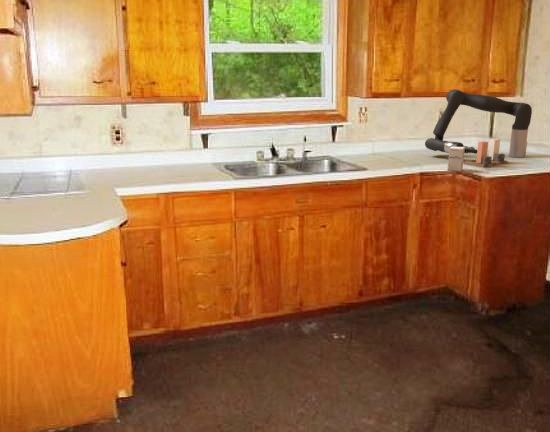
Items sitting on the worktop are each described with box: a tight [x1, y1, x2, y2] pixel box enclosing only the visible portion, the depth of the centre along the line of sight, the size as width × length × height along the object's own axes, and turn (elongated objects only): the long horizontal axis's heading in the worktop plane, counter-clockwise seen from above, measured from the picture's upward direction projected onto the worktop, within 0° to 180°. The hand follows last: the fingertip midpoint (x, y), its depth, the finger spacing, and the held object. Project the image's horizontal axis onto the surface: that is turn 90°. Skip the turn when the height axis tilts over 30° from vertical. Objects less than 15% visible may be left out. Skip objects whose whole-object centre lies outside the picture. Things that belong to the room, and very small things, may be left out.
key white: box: [488, 138, 501, 160], centre depth 316 cm, size 5×3×12 cm, turn 121°
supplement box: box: [447, 146, 465, 172], centre depth 297 cm, size 7×7×13 cm
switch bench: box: [463, 153, 509, 168], centre depth 314 cm, size 22×14×6 cm, turn 121°
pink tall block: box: [475, 140, 489, 163], centre depth 307 cm, size 5×3×12 cm, turn 121°
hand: (477, 151), depth 310 cm, fingers closed
